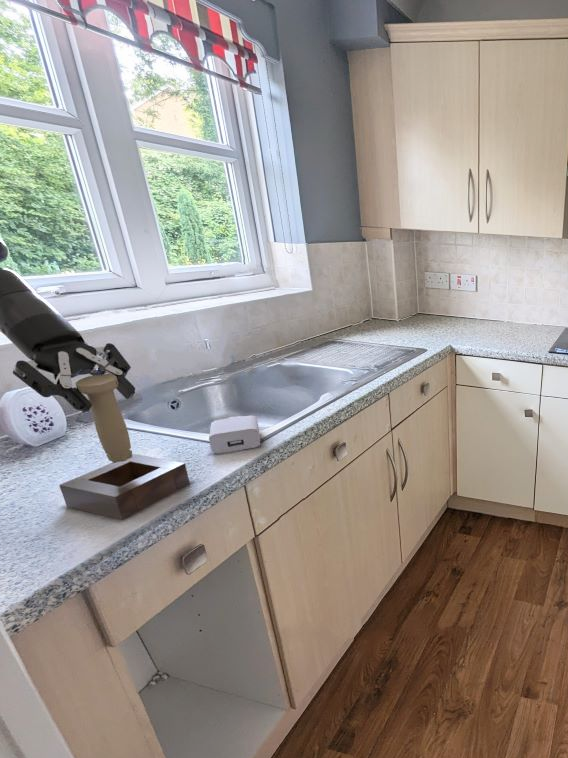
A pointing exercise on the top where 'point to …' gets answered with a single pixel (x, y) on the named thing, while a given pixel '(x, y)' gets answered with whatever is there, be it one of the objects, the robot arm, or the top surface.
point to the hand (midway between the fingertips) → (110, 401)
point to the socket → (125, 486)
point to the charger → (234, 434)
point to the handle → (107, 415)
